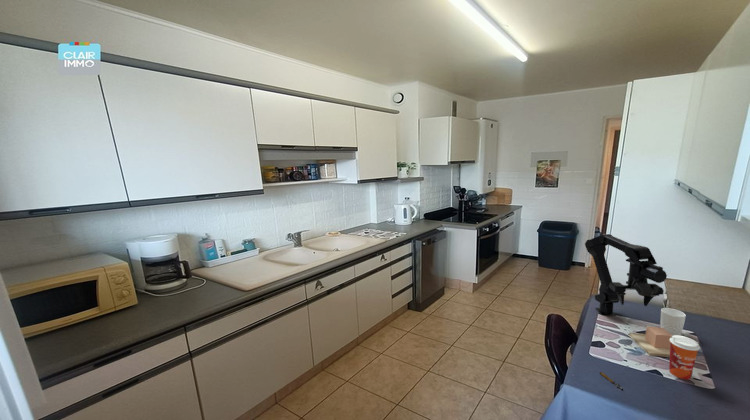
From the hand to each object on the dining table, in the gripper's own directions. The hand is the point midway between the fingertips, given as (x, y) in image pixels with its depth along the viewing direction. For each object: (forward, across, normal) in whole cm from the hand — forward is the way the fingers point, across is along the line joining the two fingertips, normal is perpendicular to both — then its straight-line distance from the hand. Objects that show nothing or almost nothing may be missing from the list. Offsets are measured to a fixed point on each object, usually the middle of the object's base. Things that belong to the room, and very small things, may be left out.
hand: (633, 305), depth 137 cm
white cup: (+12, +15, -1) cm, 19 cm away
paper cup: (+12, 0, -30) cm, 32 cm away
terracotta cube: (+11, +3, -13) cm, 17 cm away
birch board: (+12, +3, -13) cm, 18 cm away
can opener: (+12, -26, -38) cm, 48 cm away
